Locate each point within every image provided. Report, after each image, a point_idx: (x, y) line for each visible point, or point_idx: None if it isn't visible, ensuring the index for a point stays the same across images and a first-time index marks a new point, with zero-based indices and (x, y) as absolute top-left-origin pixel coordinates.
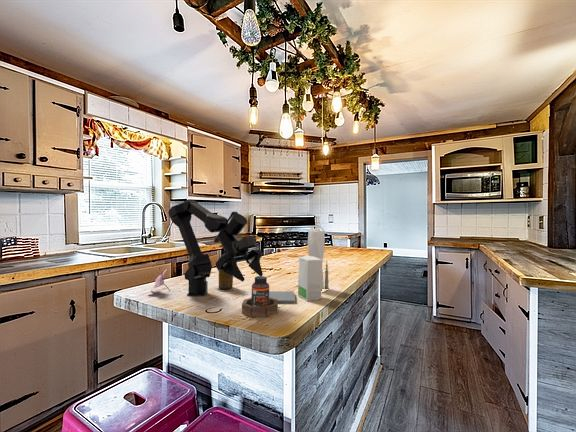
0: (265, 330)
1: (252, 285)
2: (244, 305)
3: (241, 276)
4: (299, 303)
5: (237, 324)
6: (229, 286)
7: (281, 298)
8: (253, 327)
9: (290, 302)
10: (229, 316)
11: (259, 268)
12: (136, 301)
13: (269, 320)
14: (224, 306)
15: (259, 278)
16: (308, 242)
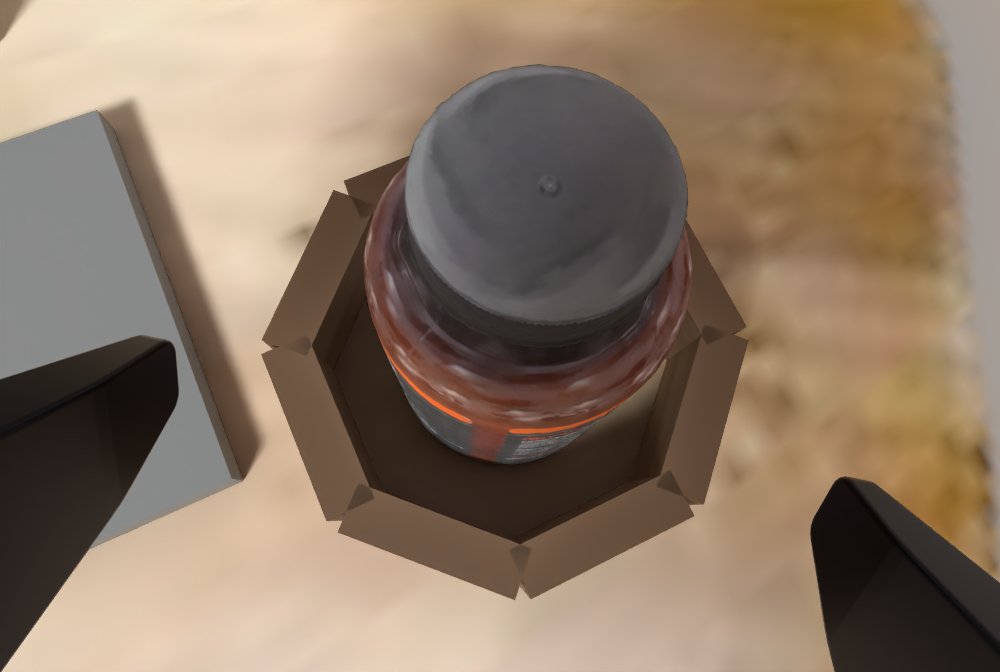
0: (881, 111)
1: (649, 366)
2: (713, 459)
3: (950, 546)
4: (101, 88)
5: (918, 382)
6: None
7: (62, 284)
8: (888, 220)
9: (125, 168)
10: (804, 588)
11: (26, 420)
12: None
13: (687, 168)
14: None
15: (670, 154)
16: None
